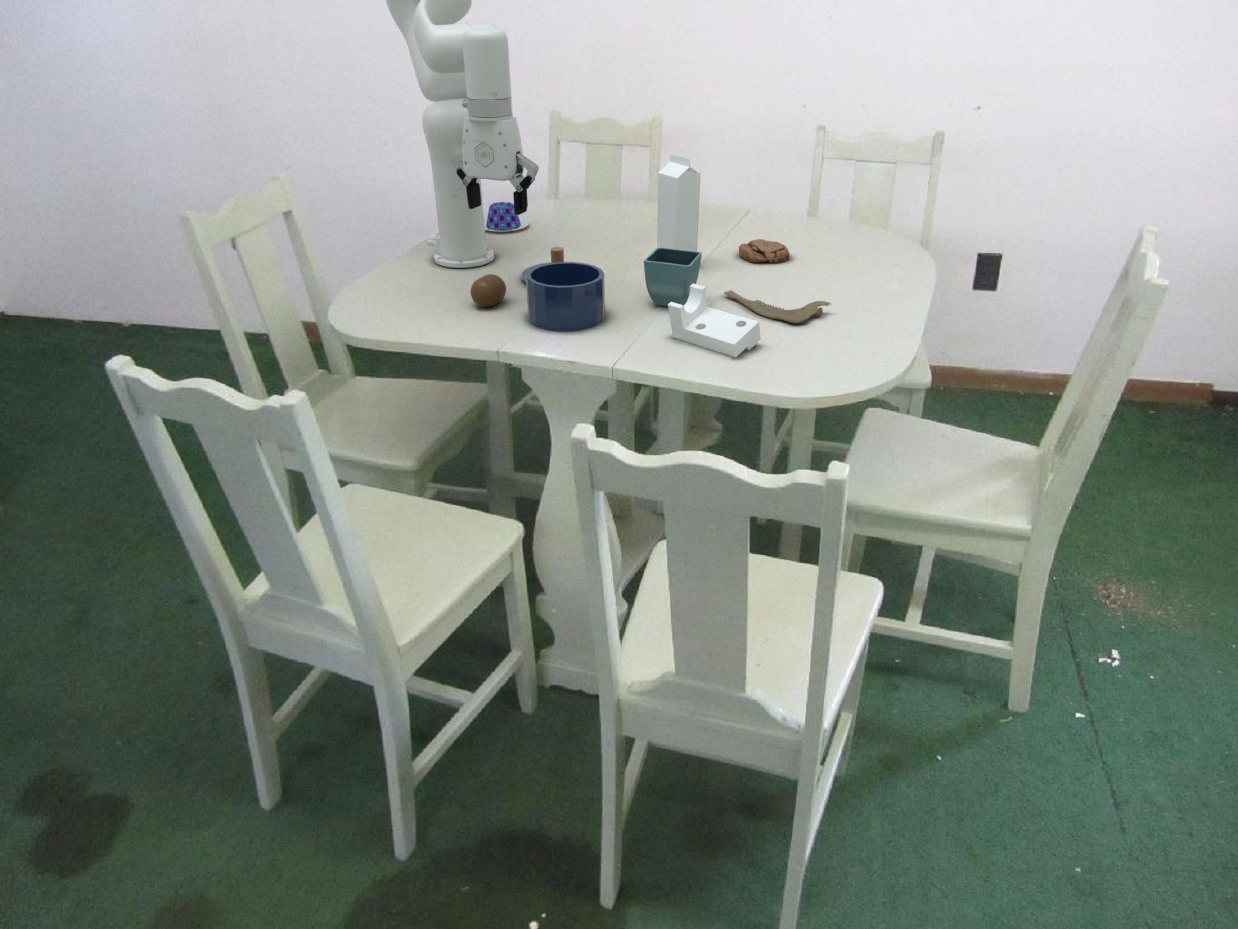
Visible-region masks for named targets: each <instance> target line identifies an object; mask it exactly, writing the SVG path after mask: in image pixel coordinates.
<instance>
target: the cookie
mask: <svg viewBox="0 0 1238 929" xmlns="http://www.w3.org/2000/svg"><path fill="white" fill-rule="evenodd" d="M738 255H739V257H740V258H742V259H744V260H745V261H748V262H750V263H757V264H759V263H760V264H762V263H769V264H780V263H782V262H786V261H788V260H789V258H790V251H789V248H788V247H787V245H785V244H783V243H781V242H778V241H774V240H773V241H772V240H766V239H762V238H759V239H757V238H756V239H752V240H749V242H747V243H742V244H740V245H739V246H738Z"/></svg>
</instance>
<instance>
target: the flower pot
mask: <svg viewBox="0 0 1238 929" xmlns="http://www.w3.org/2000/svg"><path fill="white" fill-rule="evenodd" d="M702 256H703V252H702V251H697V252H696V251H687V250H678V249H669V248H657V247H656V248H655V249H654V250H653V251H652V252H651V253H650V254H648V256H647V257H646V258H644V260H643V268H644V269H643V270H644V280H645V286H646V289H647V293H648V295H649V297H650V299H651V301H652V302H653V305H656V306H662V307H668V304H669V303H670V302H674V303H677V304H681V305H685V304H686V302H687V300H688V298H689V294H690V286H691V285H692V284H697V283H698V282H697V281H698V278H699V274H700V268H701V262H702Z"/></svg>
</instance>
